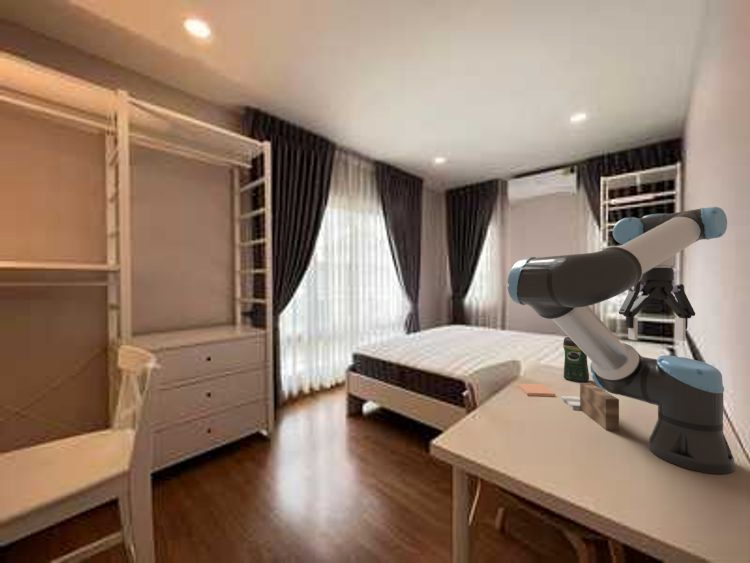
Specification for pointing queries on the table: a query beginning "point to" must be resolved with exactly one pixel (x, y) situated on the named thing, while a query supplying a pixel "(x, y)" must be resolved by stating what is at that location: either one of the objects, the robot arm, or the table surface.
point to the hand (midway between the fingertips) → (656, 339)
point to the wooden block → (596, 405)
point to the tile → (535, 390)
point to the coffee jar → (575, 362)
